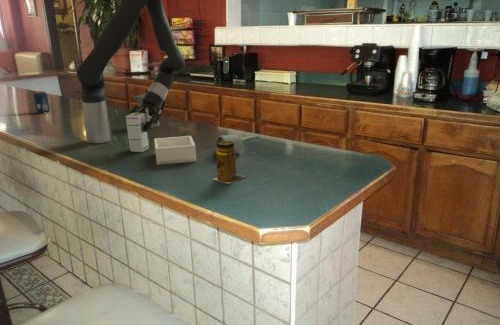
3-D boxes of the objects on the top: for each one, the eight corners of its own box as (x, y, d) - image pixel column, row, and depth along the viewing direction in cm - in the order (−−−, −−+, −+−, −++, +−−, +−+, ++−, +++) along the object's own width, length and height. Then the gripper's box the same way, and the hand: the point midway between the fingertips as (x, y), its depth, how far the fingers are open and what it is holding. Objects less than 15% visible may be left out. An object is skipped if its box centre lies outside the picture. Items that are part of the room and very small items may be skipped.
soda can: (42, 111, 235) (38, 91, 231) (52, 111, 234) (49, 91, 230) (34, 113, 228) (30, 93, 225) (45, 114, 228) (41, 93, 224)
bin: (156, 164, 140) (155, 148, 138) (155, 153, 153) (154, 138, 151) (196, 161, 143) (195, 145, 141) (191, 150, 156) (191, 135, 154)
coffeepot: (138, 129, 190) (134, 91, 184) (135, 125, 198) (131, 89, 192) (170, 126, 196) (167, 89, 190) (166, 122, 204) (163, 87, 198)
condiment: (211, 179, 126) (209, 143, 122) (229, 172, 132) (228, 137, 128) (228, 184, 121) (227, 147, 118) (246, 177, 128) (245, 141, 124)
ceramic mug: (244, 154, 150) (243, 134, 148) (225, 158, 146) (225, 138, 144) (228, 148, 159) (228, 129, 156) (211, 152, 154) (210, 133, 152)
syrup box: (143, 152, 155) (139, 115, 150) (129, 151, 156) (125, 115, 151) (149, 148, 160) (146, 112, 155) (136, 147, 161) (132, 112, 156)
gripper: (137, 89, 161) (118, 122, 156) (162, 91, 153) (143, 126, 148) (148, 100, 167) (130, 132, 161) (173, 103, 159) (155, 137, 154)
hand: (136, 129), depth 155 cm, fingers open, 8 cm apart
